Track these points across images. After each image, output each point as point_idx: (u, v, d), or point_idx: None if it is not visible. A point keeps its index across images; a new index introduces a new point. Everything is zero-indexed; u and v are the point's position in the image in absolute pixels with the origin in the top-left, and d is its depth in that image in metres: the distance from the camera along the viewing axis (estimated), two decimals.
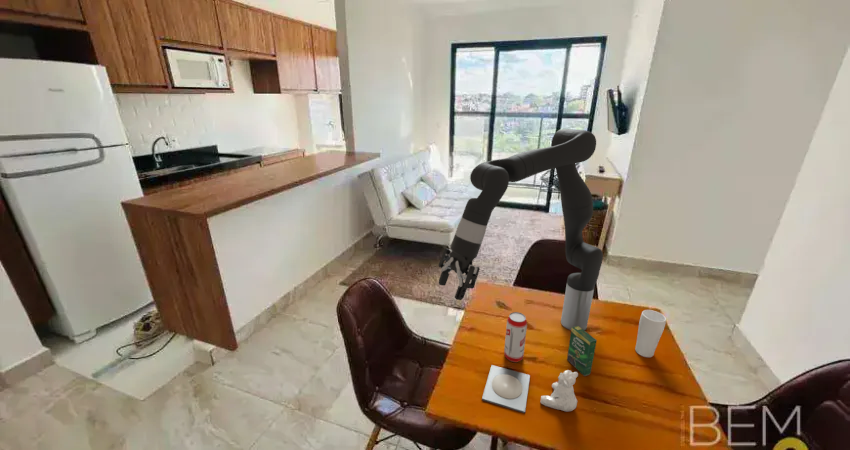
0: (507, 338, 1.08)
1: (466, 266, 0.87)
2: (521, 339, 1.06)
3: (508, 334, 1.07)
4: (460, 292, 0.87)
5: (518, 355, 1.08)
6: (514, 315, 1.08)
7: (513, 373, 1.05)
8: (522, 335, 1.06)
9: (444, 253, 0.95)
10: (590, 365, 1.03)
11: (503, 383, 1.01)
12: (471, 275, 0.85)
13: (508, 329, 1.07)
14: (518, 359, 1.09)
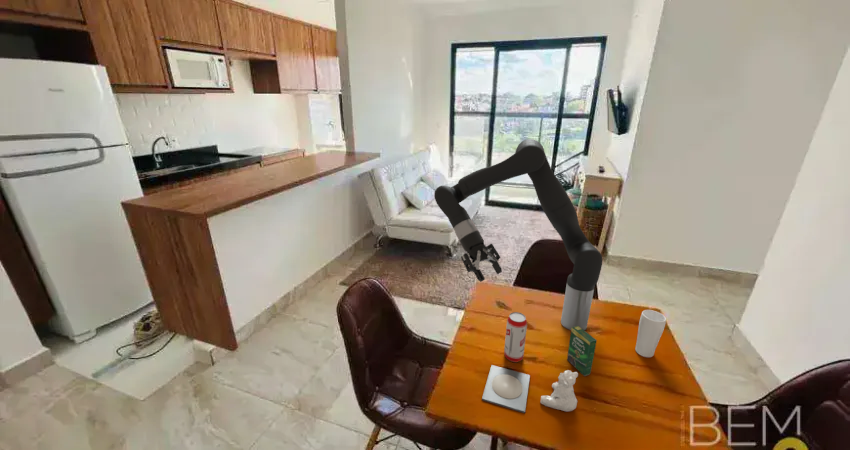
0: (507, 338, 1.08)
1: None
2: (521, 339, 1.06)
3: (508, 334, 1.07)
4: None
5: (518, 355, 1.08)
6: (514, 315, 1.08)
7: (513, 373, 1.05)
8: (522, 335, 1.06)
9: None
10: (590, 365, 1.03)
11: (503, 383, 1.01)
12: (464, 262, 1.11)
13: (508, 329, 1.07)
14: (518, 359, 1.09)
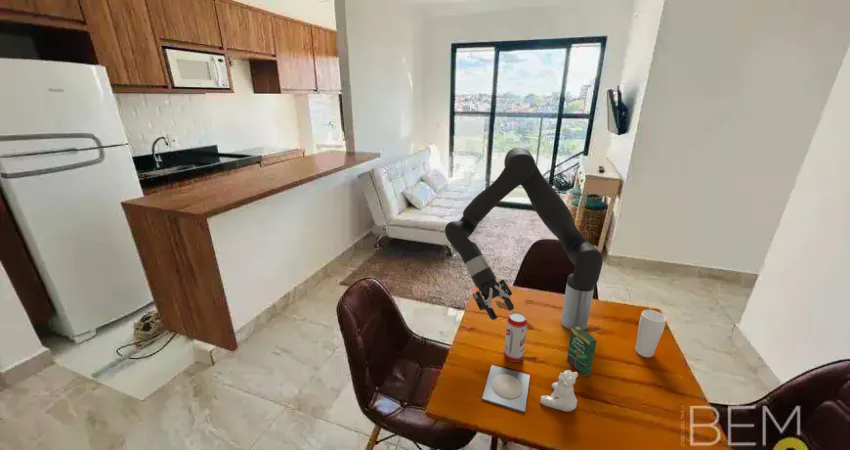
0: (507, 338, 1.08)
1: None
2: (521, 339, 1.06)
3: (508, 334, 1.07)
4: None
5: (518, 355, 1.08)
6: (514, 315, 1.08)
7: (513, 373, 1.05)
8: (522, 335, 1.06)
9: None
10: (590, 365, 1.03)
11: (503, 383, 1.01)
12: (476, 300, 1.10)
13: (508, 329, 1.07)
14: (518, 359, 1.09)
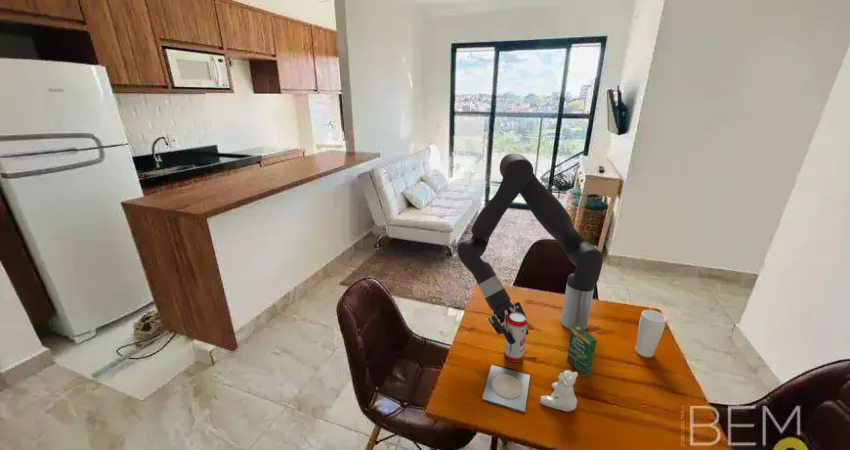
0: None
1: None
2: (521, 339, 1.06)
3: None
4: None
5: (518, 355, 1.08)
6: (514, 315, 1.08)
7: (513, 373, 1.05)
8: (522, 335, 1.06)
9: None
10: (590, 365, 1.03)
11: (503, 383, 1.01)
12: (492, 324, 1.07)
13: None
14: (518, 359, 1.09)
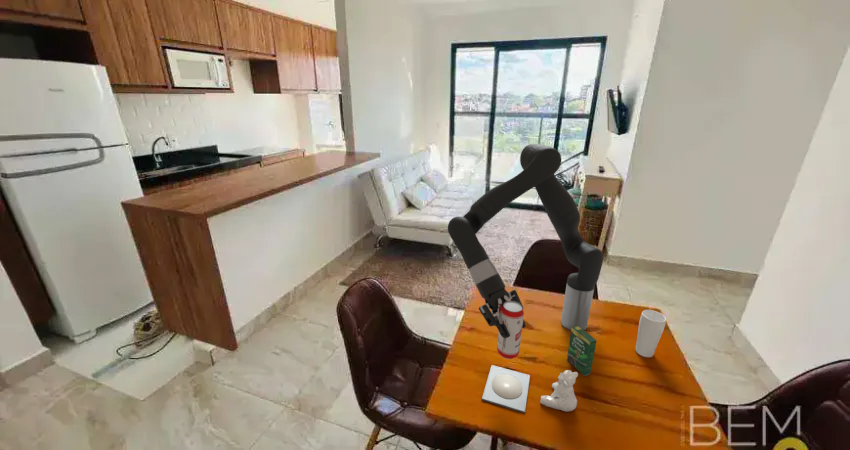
0: None
1: None
2: (517, 332, 0.91)
3: None
4: None
5: (513, 351, 0.93)
6: (509, 304, 0.92)
7: (513, 373, 1.05)
8: (518, 328, 0.90)
9: None
10: (590, 365, 1.03)
11: (503, 383, 1.01)
12: (483, 315, 0.92)
13: None
14: (513, 356, 0.94)
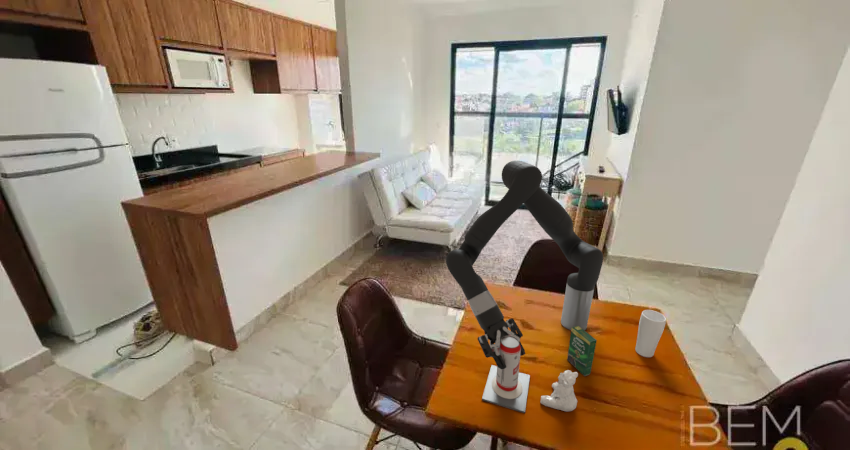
0: None
1: None
2: (515, 366, 0.94)
3: None
4: None
5: (512, 384, 0.96)
6: (506, 339, 0.96)
7: None
8: (515, 362, 0.94)
9: None
10: (590, 365, 1.03)
11: None
12: (481, 345, 0.94)
13: None
14: (511, 388, 0.97)
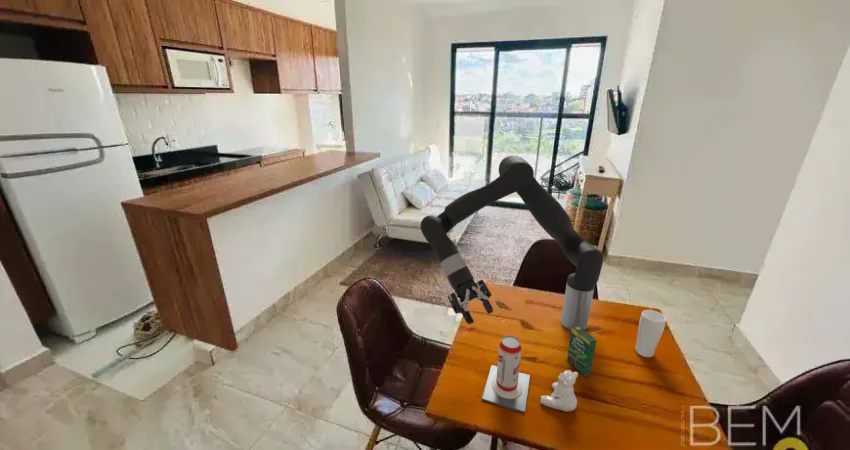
0: (499, 365, 0.96)
1: None
2: (515, 367, 0.94)
3: (500, 361, 0.95)
4: None
5: (512, 385, 0.96)
6: (507, 339, 0.96)
7: None
8: (516, 363, 0.94)
9: None
10: (590, 365, 1.03)
11: None
12: (451, 302, 1.01)
13: (500, 355, 0.95)
14: (511, 389, 0.97)
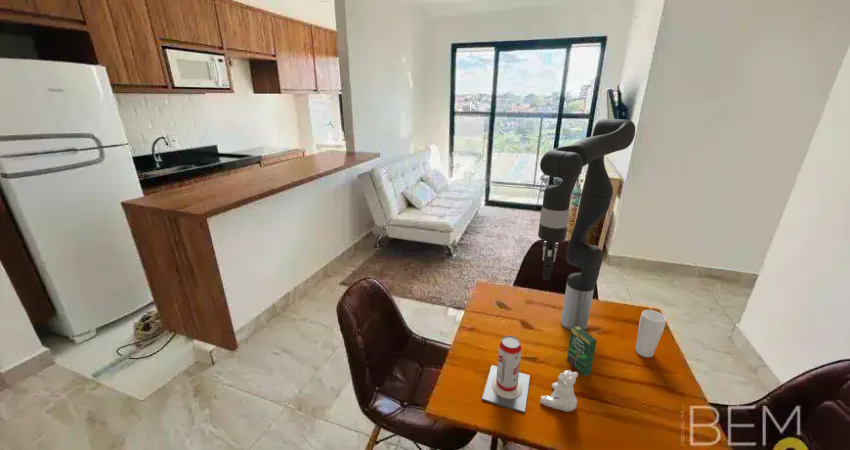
0: (499, 365, 0.96)
1: None
2: (515, 367, 0.94)
3: (500, 361, 0.95)
4: (544, 273, 0.95)
5: (512, 385, 0.96)
6: (507, 339, 0.96)
7: None
8: (516, 363, 0.94)
9: None
10: (590, 365, 1.03)
11: None
12: (545, 257, 0.92)
13: (500, 355, 0.95)
14: (511, 389, 0.97)
